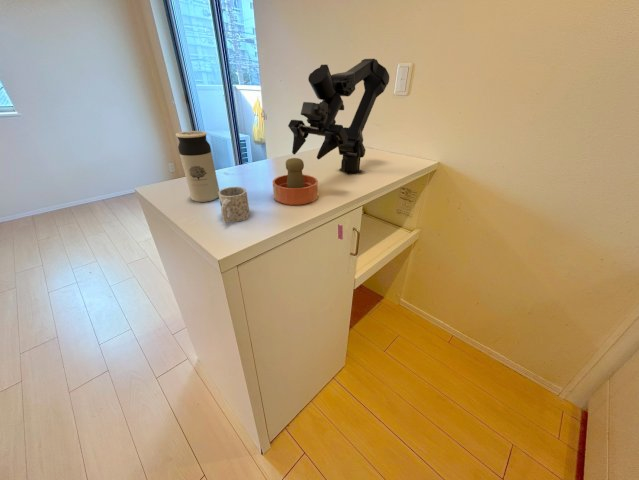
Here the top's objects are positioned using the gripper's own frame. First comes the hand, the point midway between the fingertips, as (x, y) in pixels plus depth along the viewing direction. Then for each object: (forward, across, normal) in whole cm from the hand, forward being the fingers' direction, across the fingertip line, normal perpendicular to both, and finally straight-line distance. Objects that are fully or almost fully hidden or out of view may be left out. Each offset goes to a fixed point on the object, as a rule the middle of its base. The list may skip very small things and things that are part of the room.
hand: (305, 156), depth 76 cm
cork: (+11, 0, +4) cm, 12 cm away
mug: (+26, -3, -10) cm, 28 cm away
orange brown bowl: (+11, 0, +5) cm, 12 cm away
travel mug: (+23, -21, -7) cm, 32 cm away
